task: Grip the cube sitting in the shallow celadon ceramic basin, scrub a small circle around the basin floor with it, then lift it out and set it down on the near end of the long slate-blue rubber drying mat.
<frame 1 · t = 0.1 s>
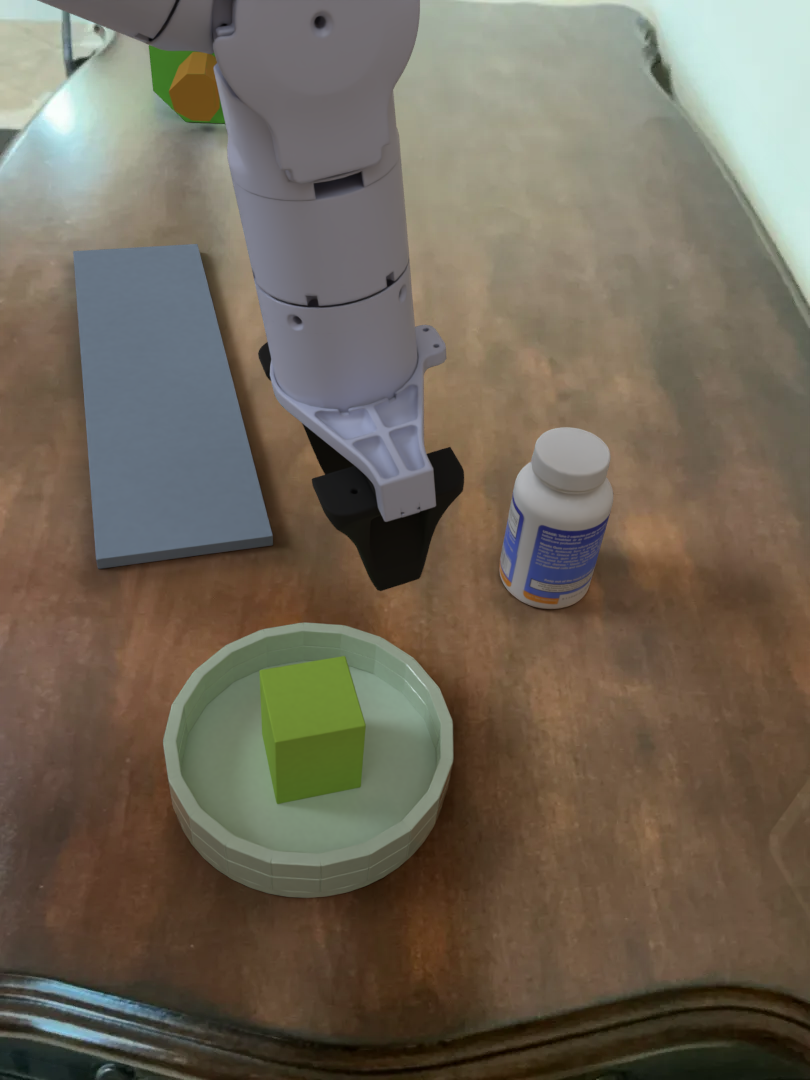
hand: (370, 521, 45), 10 cm above the dresser top, tool pointing down, fingers open, 7 cm apart
decorative tree: (215, 96, 108), on the dresser top
pill bottle: (542, 580, 57), on the dresser top
basin: (310, 767, 47), on the dresser top
cube: (310, 760, 46), point 1 cm above the dresser top, touching basin
mat: (157, 379, 69), on the dresser top
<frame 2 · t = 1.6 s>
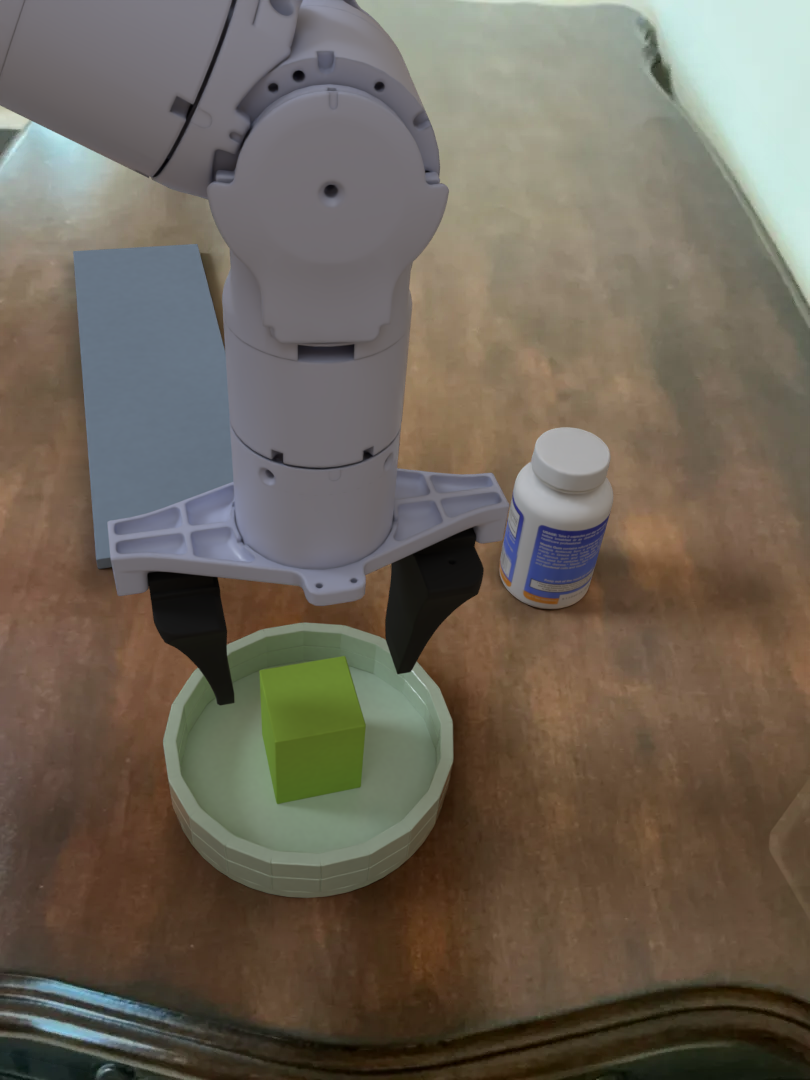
hand: (312, 670, 42), 7 cm above the dresser top, tool pointing down, fingers open, 7 cm apart
nothing on the dresser top moved.
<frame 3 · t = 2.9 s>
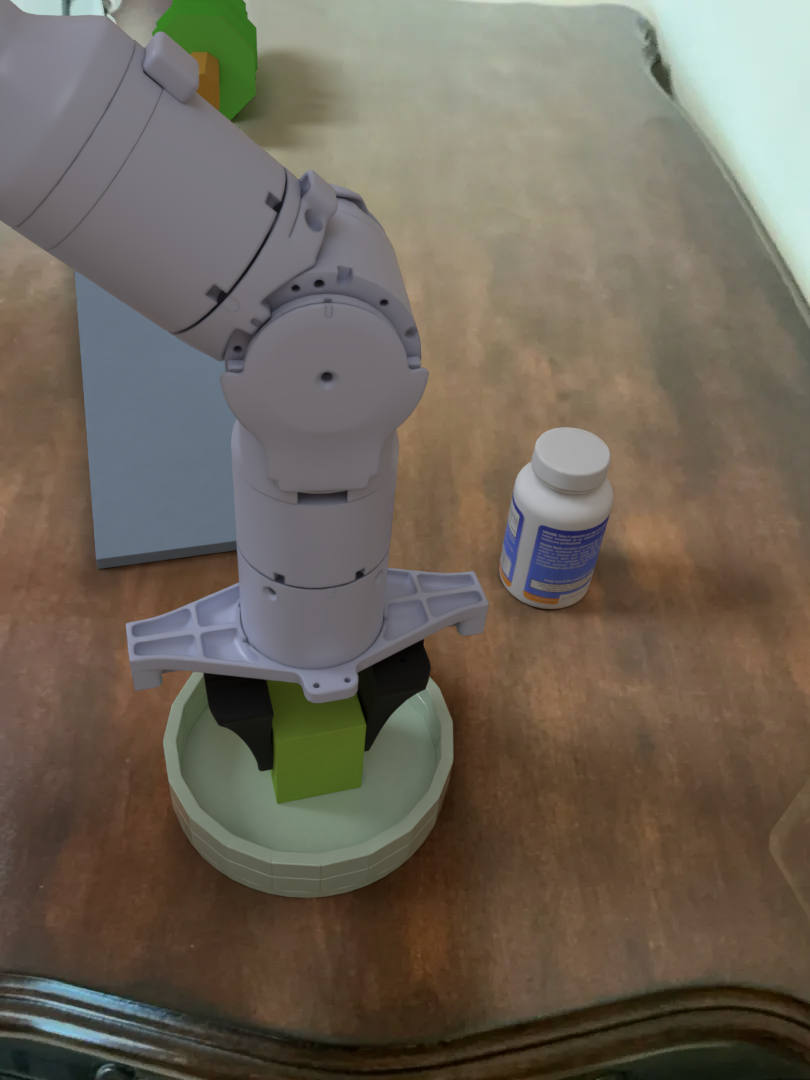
hand: (310, 743, 45), 2 cm above the dresser top, tool pointing down, fingers closed on cube, 4 cm apart
cube: (311, 760, 46), point 1 cm above the dresser top, touching basin, gripper
everything else where it was.
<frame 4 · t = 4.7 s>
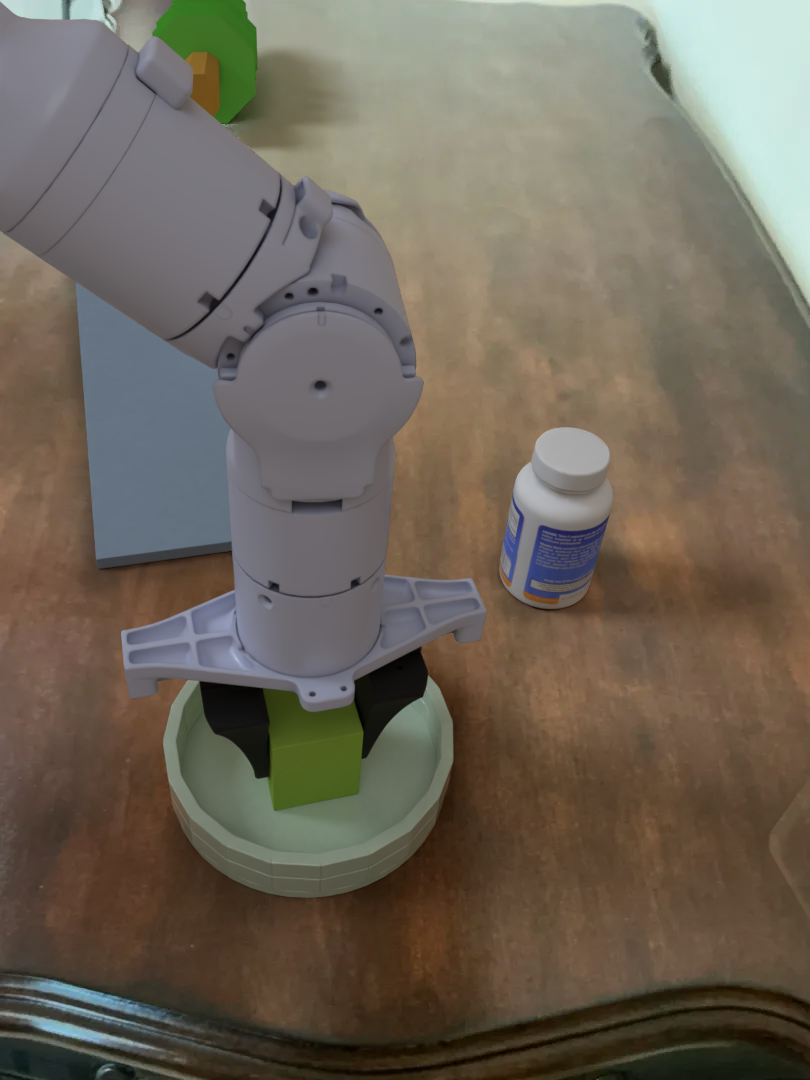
hand: (307, 750, 45), 2 cm above the dresser top, tool pointing down, fingers closed on cube, 4 cm apart
cube: (308, 766, 46), point 1 cm above the dresser top, touching gripper
everything else where it was.
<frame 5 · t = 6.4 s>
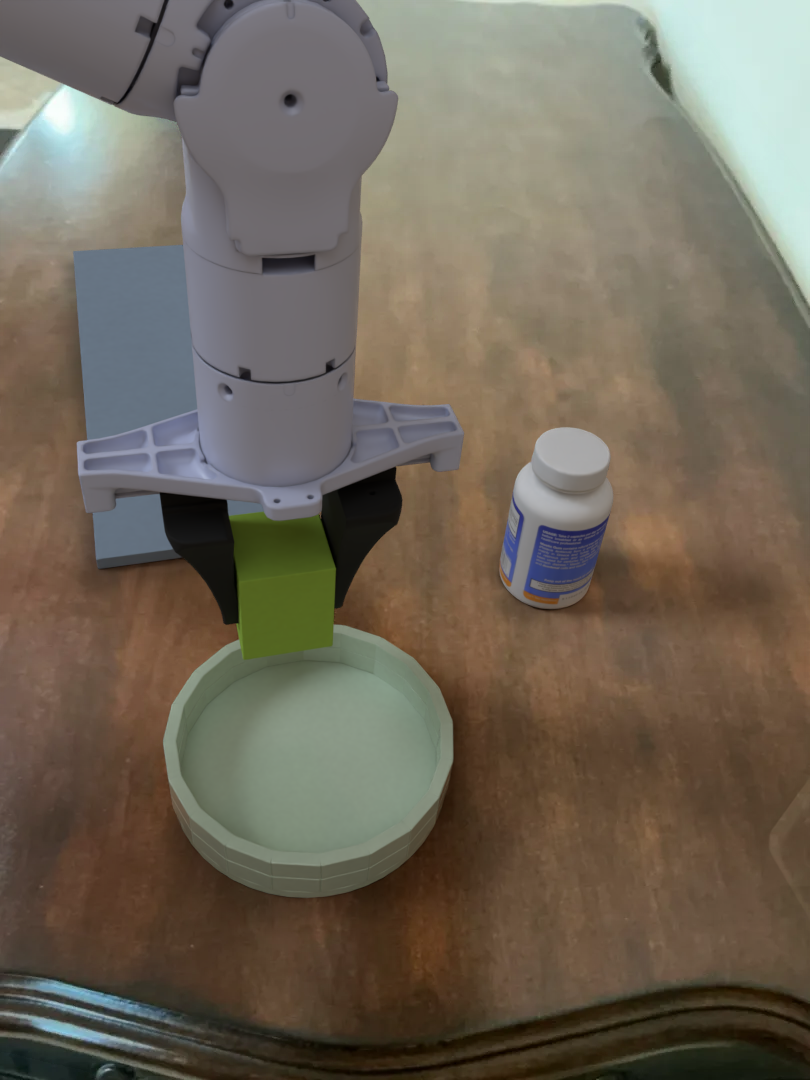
hand: (279, 600, 43), 8 cm above the dresser top, tool pointing down, fingers closed on cube, 4 cm apart
cube: (280, 620, 44), point 7 cm above the dresser top, touching gripper
everything else where it was.
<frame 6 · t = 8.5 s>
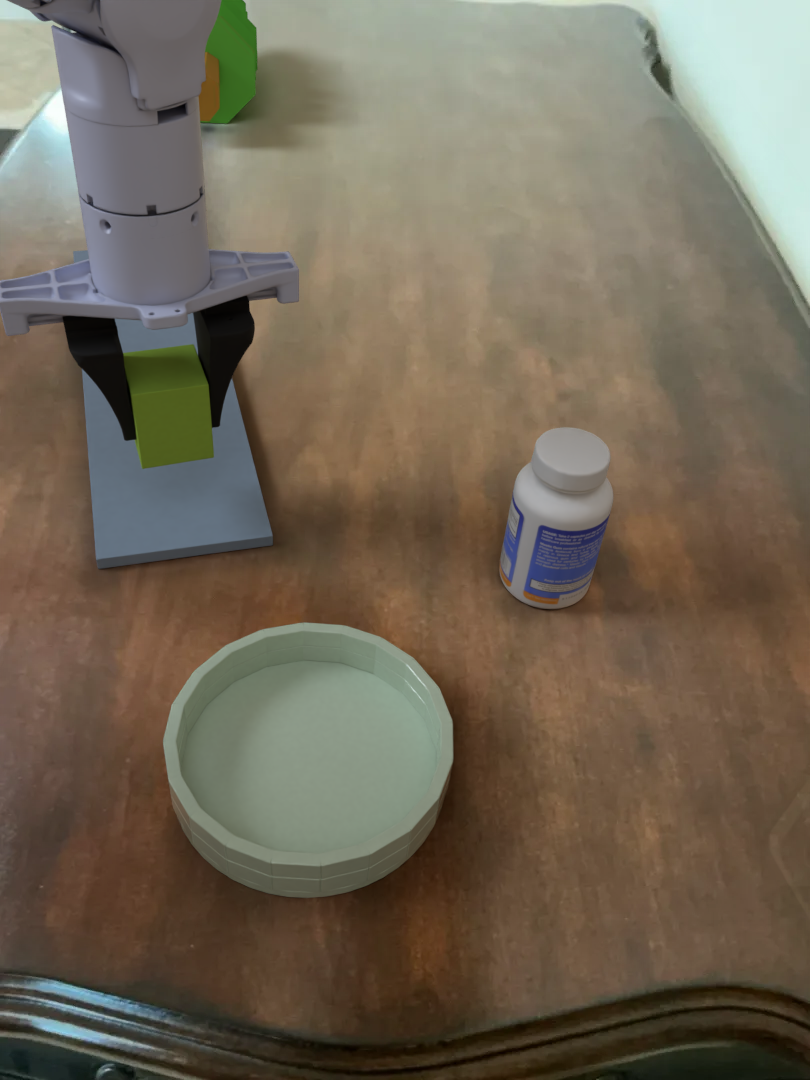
hand: (169, 423, 54), 7 cm above the dresser top, tool pointing down, fingers closed on cube, 4 cm apart
cube: (172, 441, 55), point 5 cm above the dresser top, touching gripper
everything else where it was.
when the fingers open (2 cm above the dresser top, at t = 10.0 s): cube stays where it is, resting on mat.
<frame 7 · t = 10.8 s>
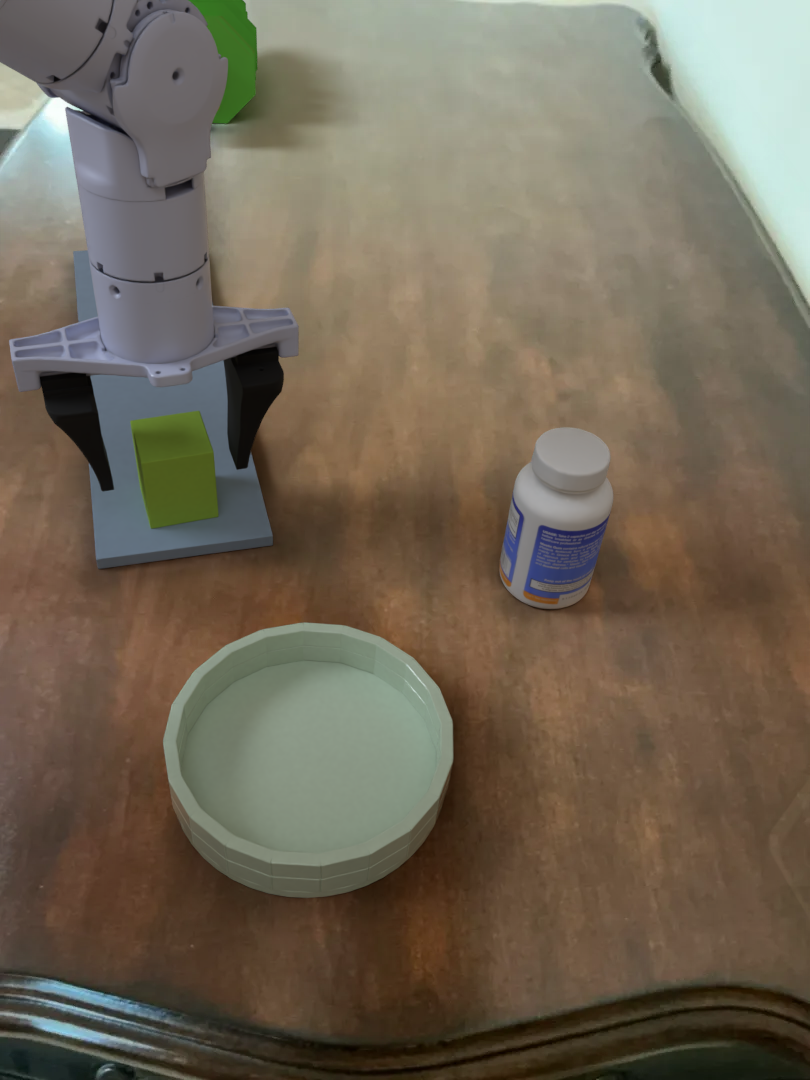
hand: (173, 469, 57), 3 cm above the dresser top, tool pointing down, fingers open, 7 cm apart
cube: (178, 501, 58), point 1 cm above the dresser top, touching mat
everything else where it was.
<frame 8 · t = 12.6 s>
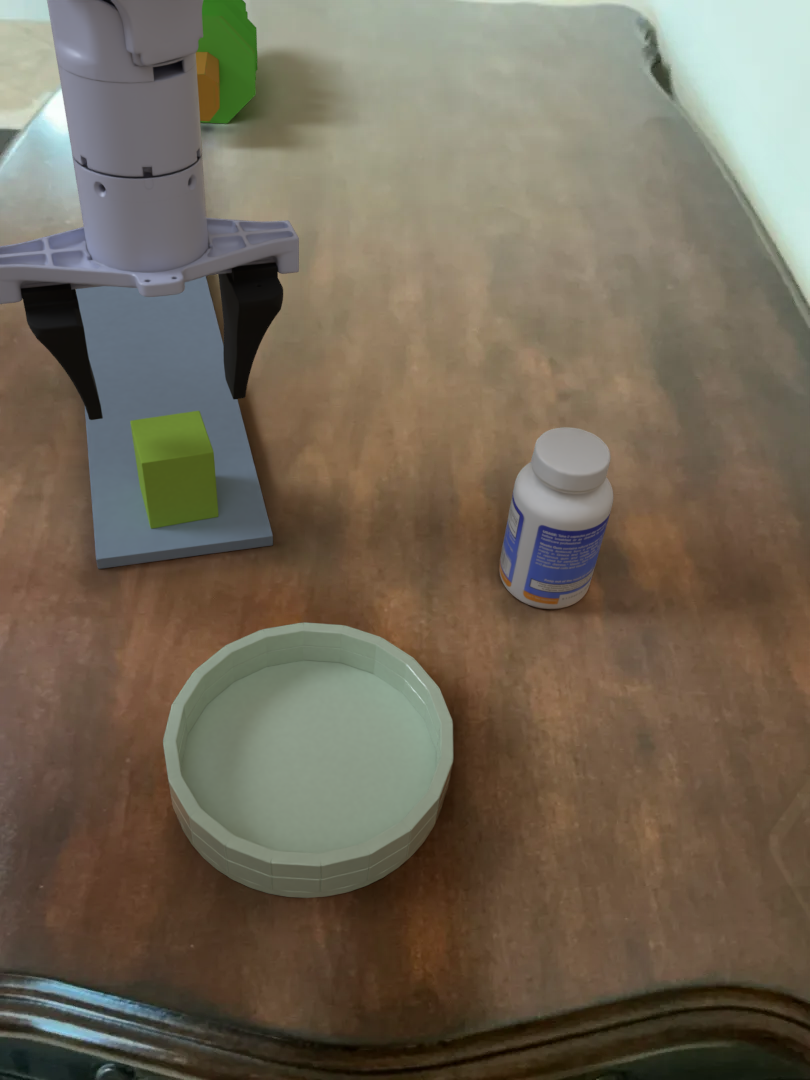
hand: (166, 398, 53), 8 cm above the dresser top, tool pointing down, fingers open, 7 cm apart
nothing on the dresser top moved.
at the end: cube 0.0 cm from the target spot on the mat, point 0.8 cm above the mat's base; cube tilted 0°; cube touching mat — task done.
